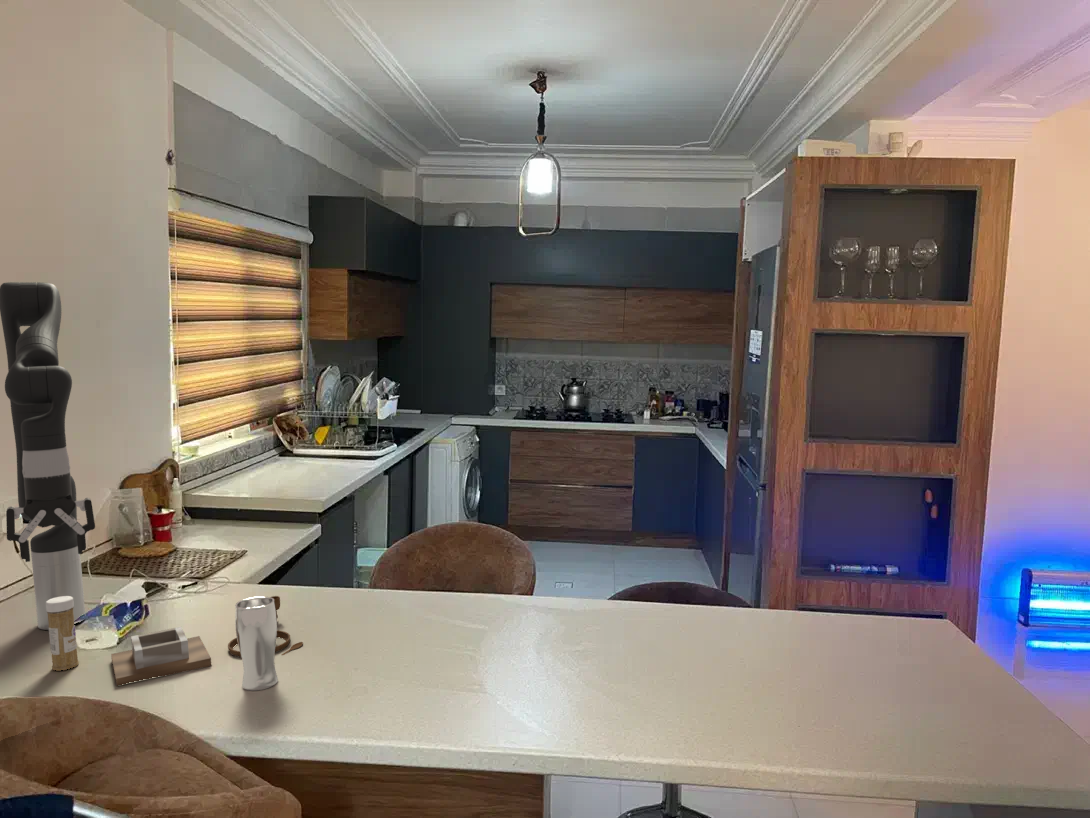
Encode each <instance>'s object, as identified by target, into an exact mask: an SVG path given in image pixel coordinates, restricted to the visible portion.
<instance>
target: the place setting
mask: <svg viewBox="0 0 1090 818" xmlns="http://www.w3.org/2000/svg"><path fill="white" fill-rule="evenodd" d="M270 597H271V598H273V599H274V604H275V610H276V618H277V619H278V618H279V616H278V610H280V608H281V596H279V595H275V596H274V595H273V596H270ZM278 637H280V638H279V639H282V638H283V639H282V640H284V642H283V643H281V644H279V645H276V647H275V653H277V652H280V651H282V650H284V649H285V648H286V647H288V646H289V644H290V642H291V635H290V633H289V632H286V631H284V630H278V629H277V638H278ZM236 644H238V641H237V636H236V637H234V638H233V639H231V640H229V643H228V644H227V648H228V652H229V653H230V654H231V655H232V654H233V656H234V657H238V656H239V658H242V657H241V653H240V650H235V649H234V648H235V647H236V646H237V645H236ZM235 645H236V646H235ZM303 645H304V642H303V641H299V642H297V643H294V644H292V645H291V647H290V648H289V649H287V651H285V652H283V653H282V654H281V656H285V655H287V654H288V653H289V652H291V651H294V650H298V649H300V648H302V646H303ZM234 646H235V647H234ZM233 647H234V648H233Z"/></svg>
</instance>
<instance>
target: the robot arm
mask: <svg viewBox="0 0 1090 818" xmlns="http://www.w3.org/2000/svg"><path fill="white" fill-rule="evenodd" d="M0 319H1V327H2V331H3V336H4V337H3V338H4V344H5V350H6V359H7V370H8V372H7V374H6V377H5V379H4V391H5V395H6V396H7V398H8V399H9V401H10V411H11V418H12V419H11V420H12V427H13V434H14V441H15V451H16V454H15V455H16V477H17V481H16V482H17V501H18V507H17V506H16V507H13V506H8V507H7V508H6V514H5V515H6V540H7V541H9V542H11V541H13V542H17V543H18V544H19V552H20V558H21V560H25V563H28V562H31V564H32V566H31V567H32V575H33V576H32V577H33V585H34V586H33V588H34V599H35V600H34V601H35V608H36V609H35V610H36V621H37V622H36V623H37V628H38V629H40V630H43V631H44V630H46V631H49V623H48V613H47V611H46V601H48V600H49V599H52V598H56V597H61V596H71V597H73V601H74V607H73V614H74V620H76V619H77V618H78V617H79V616H81V615H82V614H84V613H85V614H86V607H85V595H84V594H85V593H84V584H83V583H84V582H83V572H82V571H83V570H82V560H81V554H83V551H86V549H87V542H86V534H87V533H88V532H90V531H93V530H94V529H96V523H95V522H96V521H95V515H94V509H93V503H92V499H91V498H90V497H85V498H84V499H81V500H80V499H79V500H77V487H76V481H75V480H74V478H73V476H72V475H71V464H70V459H69V458H70V457H69V454H68V449H67V439H66V414H67V410H68V409H67V408H68V403H69V399H70V397H71V393H72V387H73V379H72V376H71V374H70V372H69V371H68V369H67V368H65V367H63V366H61V365H59V363H60V362H59V355H58V354H59V353H58V352H59V351H58V340H59V335H60V329H61V328H60V327H61V323H62V322H61V321H62V300H61V294H60V291H59V289H58V287H57V286H56V285H55V284H53V283H51V282H38V281H37V282H36V281H35V282H34V281H33V282H32V281H31V282H27V281H26V282H25V281H20V282H18V281H17V282H16V281H14V282H11V281H10V282H9V281H8V282H7V281H6V282H3V283H1V284H0ZM21 327H27V328H26V329H24V331H22V332H21ZM77 507H78V508H79V509H80V511H82V512H85V518H86V523H85V524H83V525H82V524H81V523H80V522H79V521H78V513H77V511H78V508H77ZM20 515H21V518H22V519H24V520H25V521H28V523H27V525H26V526H25V528H24V529H23V530H22V531H21V533H20V532H19V533H17V532H16V520H18V519H19V518H20ZM51 526H52V527H51ZM37 527H40V528H47V527H51V528H49V529H47V530H44V531H43V532H40V533H38V534H36V535H34V536H32V537H31V539H30V542H29V537H30V536H31V535H32V533H33V532H34V531H35V529H36V528H37ZM29 544H30V545H29Z"/></svg>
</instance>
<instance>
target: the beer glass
mask: <svg viewBox="0 0 1090 818" xmlns="http://www.w3.org/2000/svg"><path fill="white" fill-rule="evenodd" d="M271 597H272V596H253V597H248V598H244V599H241V600H239V601H238V602H236V603H235V605H234V606H235V613H234V614H235V615H234V618H235V624H234V625H235V634H236V635H235V636H236V637H237V641H238V645H237V646H238V650H239V651H240V653H241V657H240V658H241V659H242V667H243V671H242V672H243V674H242V675H243V676H242V682H241V683H242V684H241V687H242V689H244V690H246V691H262V690H266V689H270V688H272V687H273V686H275V685H276V684H277V683H278V680H279V678H278V675H277V669H276V664H275V655H276V654H275V653H276V652H275V647H276V646H277V638H278V637H277V630H278V622H277V620H278V618H276V611H277V610H275V604H274V599H273V598H271Z"/></svg>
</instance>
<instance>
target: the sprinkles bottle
mask: <svg viewBox="0 0 1090 818" xmlns="http://www.w3.org/2000/svg"><path fill="white" fill-rule="evenodd" d="M73 607H74V601H73V597H71V596H61V597H56V598H52V599H49V600H48V601H46V611H47V613H48V623H49V630H48V635H49V646H50V655H51V662H52V666H51V668H52V670H53V671H55V670H56V671H57V672H60V671H61V670H63V671H68V670H71V669H74V668H75V667H77V666H78V665H79V663H80V661H79V659H78V649H77V648H78V644H77V643H78V642H77V636H76V635H77V633H76V625H74V614H73ZM73 667H74V668H73ZM70 668H71V669H70ZM67 669H68V670H67ZM61 672H62V671H61Z"/></svg>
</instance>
